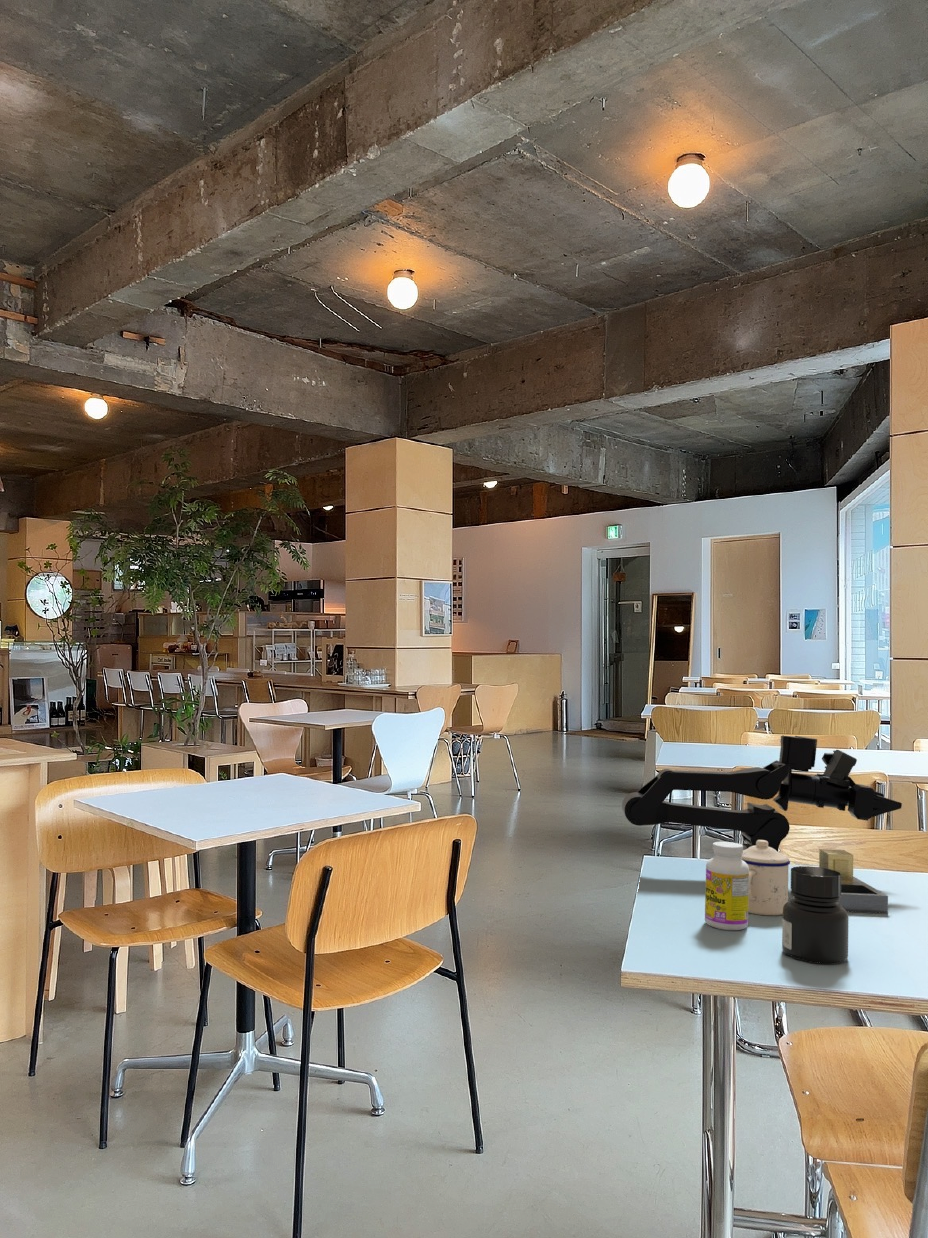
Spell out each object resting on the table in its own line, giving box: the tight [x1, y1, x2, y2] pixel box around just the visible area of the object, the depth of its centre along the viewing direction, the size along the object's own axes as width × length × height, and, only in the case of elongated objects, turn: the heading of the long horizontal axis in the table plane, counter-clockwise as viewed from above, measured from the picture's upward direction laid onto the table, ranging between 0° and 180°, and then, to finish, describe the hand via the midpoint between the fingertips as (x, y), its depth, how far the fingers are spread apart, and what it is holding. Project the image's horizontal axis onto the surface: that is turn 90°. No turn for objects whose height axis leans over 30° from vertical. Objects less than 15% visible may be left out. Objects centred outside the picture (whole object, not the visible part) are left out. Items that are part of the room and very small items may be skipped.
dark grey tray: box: [837, 875, 889, 915], centre depth 163 cm, size 9×15×3 cm, turn 179°
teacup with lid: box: [742, 840, 791, 916], centre depth 155 cm, size 12×9×12 cm
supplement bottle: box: [704, 841, 749, 931], centre depth 145 cm, size 7×7×13 cm
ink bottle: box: [781, 865, 850, 965], centre depth 131 cm, size 10×9×12 cm
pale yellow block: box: [818, 848, 854, 883], centre depth 168 cm, size 4×6×5 cm
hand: (892, 801), depth 179 cm, fingers open, 9 cm apart
